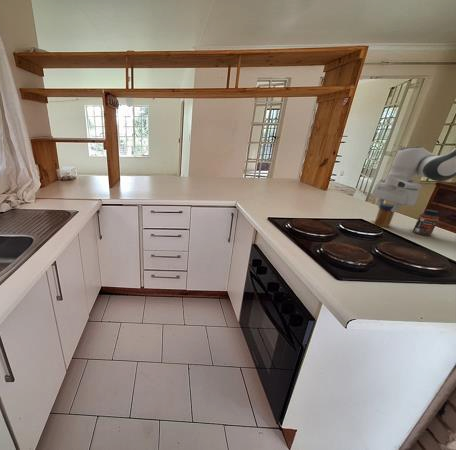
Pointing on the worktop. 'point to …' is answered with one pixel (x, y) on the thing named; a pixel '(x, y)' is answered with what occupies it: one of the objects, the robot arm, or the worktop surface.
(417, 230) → the supplement bottle
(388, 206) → the jar lid
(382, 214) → the jam jar
